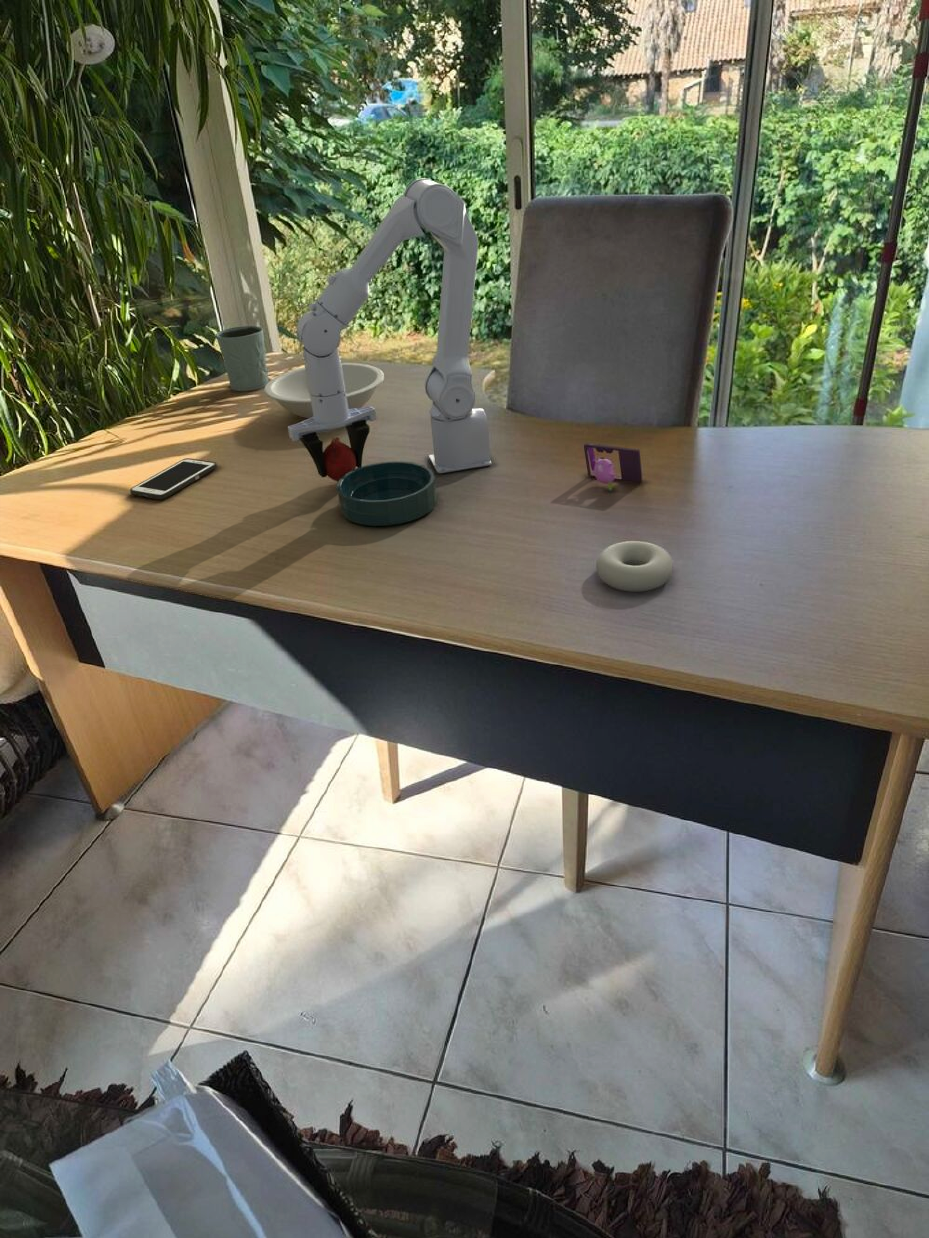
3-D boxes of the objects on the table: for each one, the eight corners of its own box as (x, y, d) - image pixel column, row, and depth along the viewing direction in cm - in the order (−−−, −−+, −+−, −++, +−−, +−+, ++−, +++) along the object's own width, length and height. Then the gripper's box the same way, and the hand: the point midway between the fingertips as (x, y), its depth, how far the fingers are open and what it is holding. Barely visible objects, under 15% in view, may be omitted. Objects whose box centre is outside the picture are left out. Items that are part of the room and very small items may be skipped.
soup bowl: (382, 429, 167) (378, 396, 164) (259, 438, 168) (252, 405, 165) (392, 389, 187) (388, 359, 184) (282, 397, 189) (276, 366, 185)
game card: (641, 446, 134) (585, 440, 138) (630, 469, 131) (574, 462, 135) (643, 478, 139) (590, 471, 143) (634, 501, 136) (579, 493, 140)
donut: (660, 555, 119) (588, 562, 119) (662, 533, 117) (588, 539, 117) (682, 593, 111) (604, 600, 110) (684, 569, 109) (605, 576, 108)
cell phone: (129, 495, 149) (127, 489, 149) (187, 462, 160) (185, 457, 160) (162, 501, 146) (161, 495, 146) (219, 467, 157) (218, 462, 156)
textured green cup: (221, 392, 194) (208, 338, 188) (238, 378, 203) (226, 325, 196) (263, 391, 193) (252, 337, 186) (279, 377, 201) (269, 324, 194)
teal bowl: (426, 480, 146) (423, 455, 143) (446, 518, 133) (443, 491, 131) (336, 495, 143) (331, 470, 141) (348, 535, 131) (343, 508, 128)
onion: (353, 490, 144) (345, 444, 140) (320, 489, 145) (312, 444, 141) (363, 475, 149) (356, 431, 144) (331, 475, 150) (323, 431, 146)
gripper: (359, 375, 144) (370, 452, 151) (275, 394, 139) (291, 473, 146) (376, 385, 139) (387, 464, 146) (290, 406, 133) (306, 487, 141)
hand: (340, 470), depth 146 cm, fingers closed on onion, 6 cm apart
